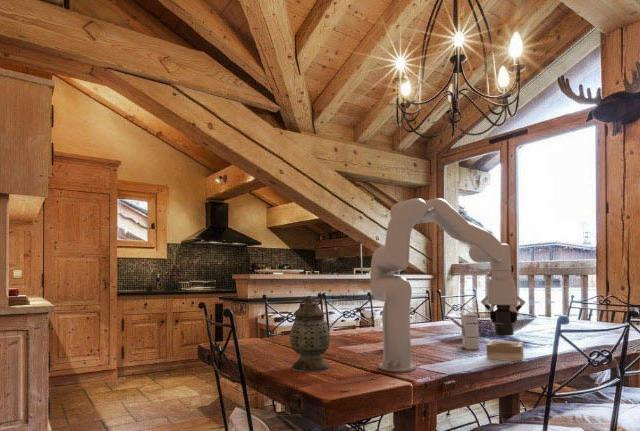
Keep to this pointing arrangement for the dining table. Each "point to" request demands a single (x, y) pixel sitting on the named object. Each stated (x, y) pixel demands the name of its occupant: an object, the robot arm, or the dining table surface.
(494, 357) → the plinth
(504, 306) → the supplement bottle
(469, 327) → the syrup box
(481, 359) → the dining table surface
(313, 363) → the lantern
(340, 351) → the dining table surface
